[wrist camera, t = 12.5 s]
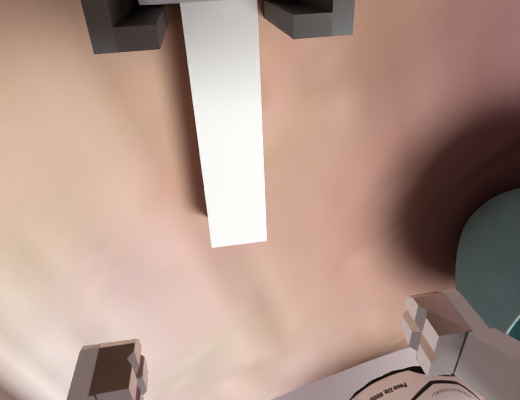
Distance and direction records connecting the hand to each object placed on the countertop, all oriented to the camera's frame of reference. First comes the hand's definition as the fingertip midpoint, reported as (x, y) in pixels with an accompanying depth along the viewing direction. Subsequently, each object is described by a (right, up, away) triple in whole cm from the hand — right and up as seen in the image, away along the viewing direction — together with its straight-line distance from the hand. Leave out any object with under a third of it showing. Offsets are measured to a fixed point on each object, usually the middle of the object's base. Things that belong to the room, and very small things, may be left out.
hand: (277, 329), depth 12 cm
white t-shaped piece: (-3, +10, +16) cm, 19 cm away
